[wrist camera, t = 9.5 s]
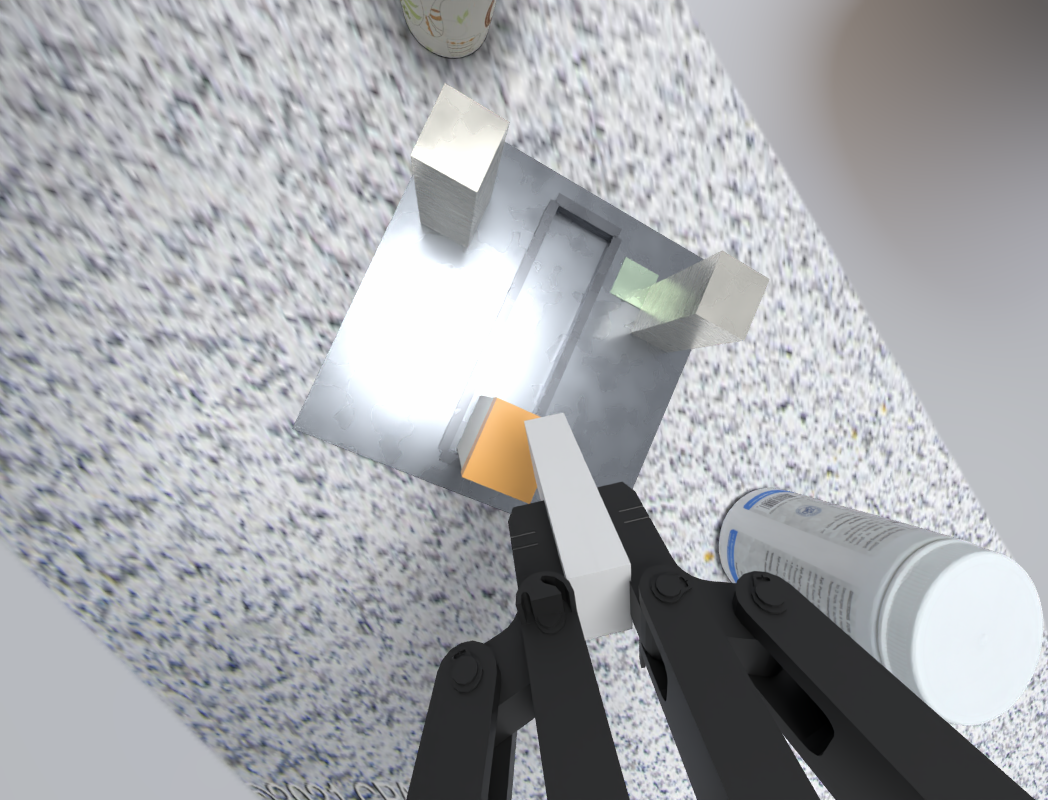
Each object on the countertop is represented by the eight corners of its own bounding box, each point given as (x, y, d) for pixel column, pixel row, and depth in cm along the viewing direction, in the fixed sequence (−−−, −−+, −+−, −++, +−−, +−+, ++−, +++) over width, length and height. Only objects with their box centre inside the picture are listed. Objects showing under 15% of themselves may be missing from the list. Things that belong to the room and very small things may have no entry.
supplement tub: (776, 607, 35) (1005, 758, 21) (694, 566, 34) (882, 700, 19) (821, 510, 36) (1073, 592, 22) (743, 464, 34) (961, 521, 20)
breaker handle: (502, 466, 28) (529, 504, 19) (456, 447, 28) (461, 477, 19) (525, 414, 28) (563, 427, 19) (480, 394, 28) (497, 397, 19)
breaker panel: (598, 543, 32) (663, 608, 22) (300, 426, 27) (225, 446, 18) (711, 276, 33) (816, 233, 24) (445, 121, 28) (445, -10, 19)
